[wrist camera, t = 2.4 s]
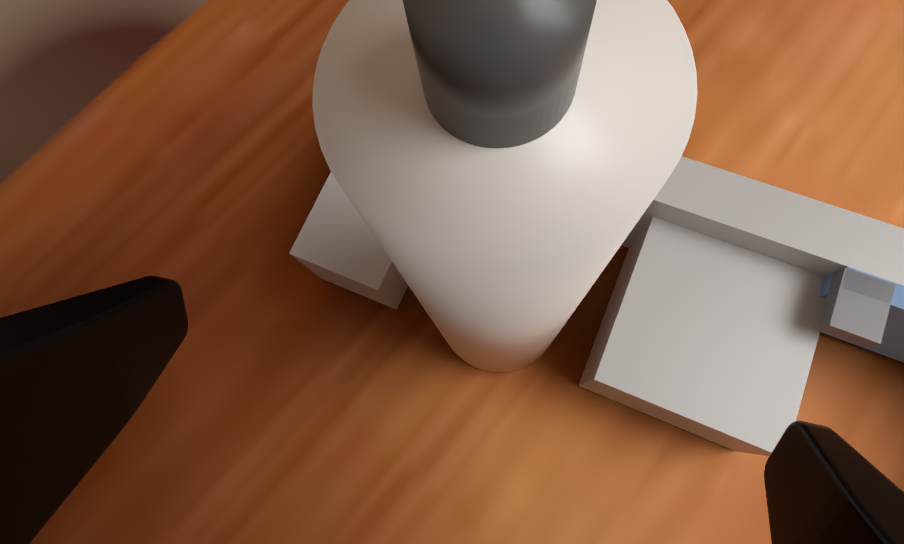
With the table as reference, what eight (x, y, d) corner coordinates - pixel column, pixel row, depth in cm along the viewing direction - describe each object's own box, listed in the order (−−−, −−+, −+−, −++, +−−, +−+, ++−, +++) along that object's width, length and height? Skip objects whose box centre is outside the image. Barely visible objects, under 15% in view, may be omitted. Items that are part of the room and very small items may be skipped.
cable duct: (1117, 375, 16) (1312, 361, 12) (1085, 597, 15) (1293, 660, 11) (397, 124, 20) (373, 55, 16) (320, 278, 19) (275, 242, 15)
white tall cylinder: (575, 280, 18) (828, -168, 4) (533, 392, 17) (672, 287, 3) (467, 239, 19) (378, -262, 5) (421, 344, 18) (158, 97, 4)
